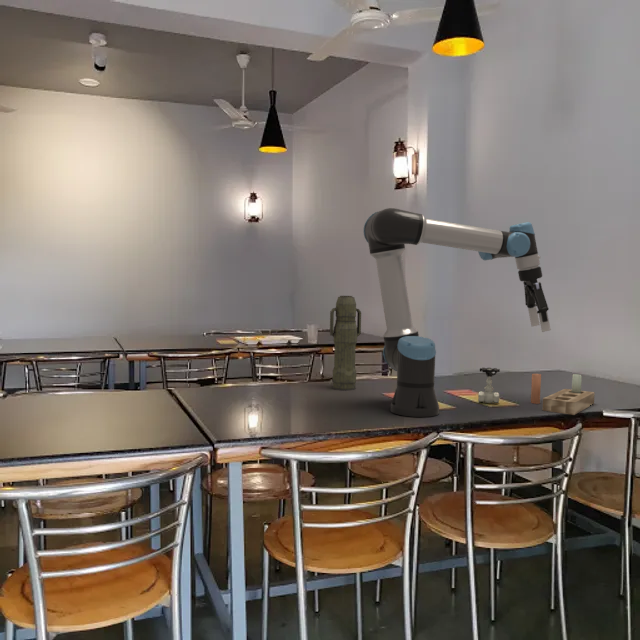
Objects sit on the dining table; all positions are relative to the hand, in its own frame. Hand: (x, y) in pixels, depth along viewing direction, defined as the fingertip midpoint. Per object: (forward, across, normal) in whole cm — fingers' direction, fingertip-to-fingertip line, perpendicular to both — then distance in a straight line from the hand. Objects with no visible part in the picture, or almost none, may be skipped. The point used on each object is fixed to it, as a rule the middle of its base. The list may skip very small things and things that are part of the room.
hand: (540, 328), depth 219 cm
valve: (+21, -6, +23) cm, 32 cm away
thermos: (+10, +14, +72) cm, 74 cm away
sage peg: (+28, -1, -6) cm, 29 cm away
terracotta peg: (+25, -3, +7) cm, 26 cm away
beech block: (+27, -8, -2) cm, 28 cm away
